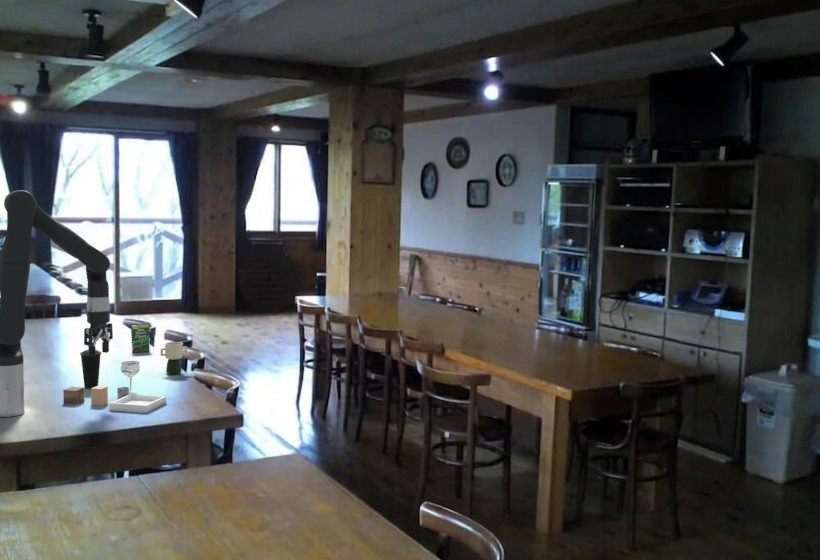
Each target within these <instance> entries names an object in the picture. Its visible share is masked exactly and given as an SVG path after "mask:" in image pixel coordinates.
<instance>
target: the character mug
mask: <svg viewBox="0 0 820 560" xmlns="http://www.w3.org/2000/svg"><path fill="white" fill-rule="evenodd" d="M183 350H184V351H183ZM187 354H188V347H187V346H183V342H179V341H170V342H166V343H164V347H161V348H160V356H161V357H165V359H167V361H166V369H165V370H166V371H165V372H166V373H167V374H170V373H171V374H170V375H172V374H173V375H175V374H176V375H177V374H180V373H181V372H182V365H181V360H180V359H182V358H183V356H184V355H187Z"/></svg>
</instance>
